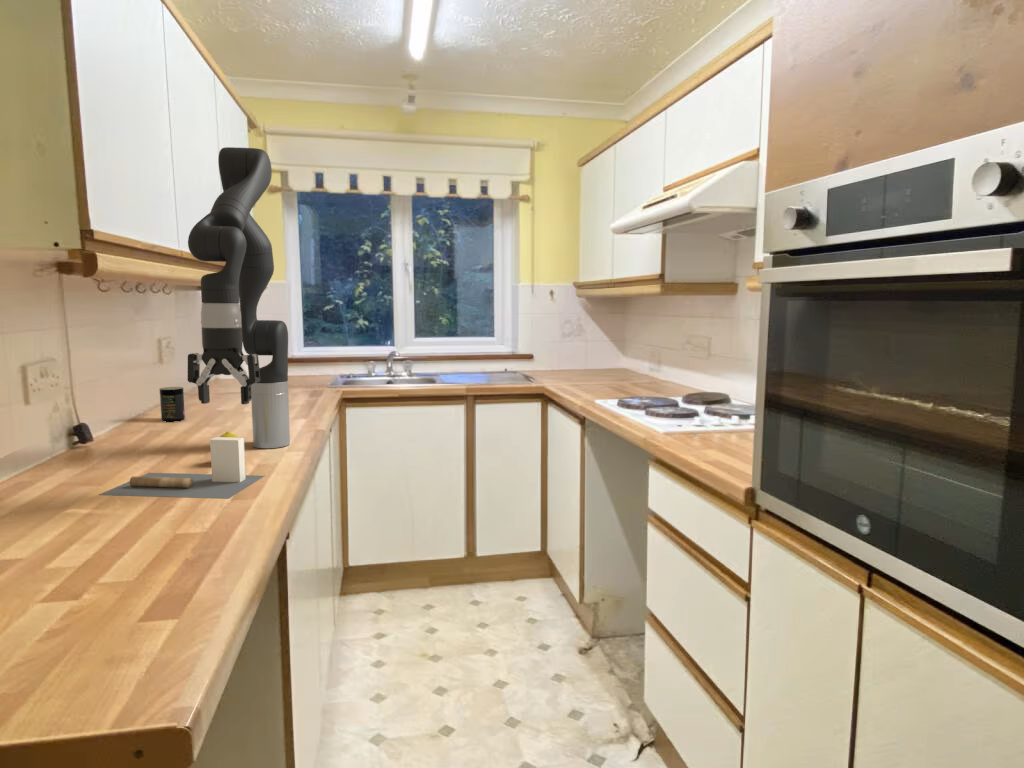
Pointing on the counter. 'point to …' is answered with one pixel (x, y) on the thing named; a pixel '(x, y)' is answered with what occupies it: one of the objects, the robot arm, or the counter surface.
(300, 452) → the counter surface
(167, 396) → the supplement container
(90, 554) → the counter surface
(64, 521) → the counter surface
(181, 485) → the dowel
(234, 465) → the tile
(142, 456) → the counter surface
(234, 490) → the mat
